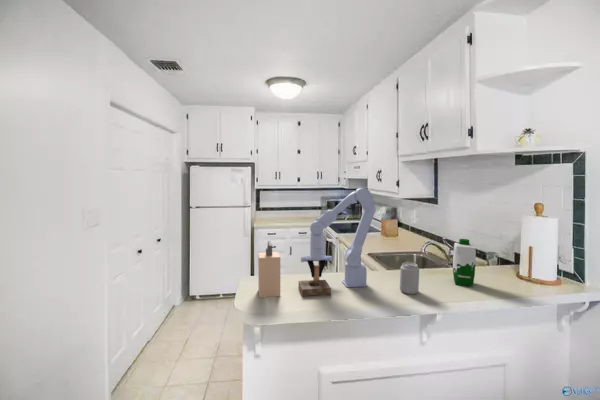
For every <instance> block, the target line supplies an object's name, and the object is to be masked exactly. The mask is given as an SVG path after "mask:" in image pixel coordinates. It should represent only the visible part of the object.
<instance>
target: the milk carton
mask: <svg viewBox="0 0 600 400" xmlns="http://www.w3.org/2000/svg"><path fill="white" fill-rule="evenodd" d="M476 248H477V247H476V246H475V245H474V244H473V243H470V239H468V238H459V241H458V242H454V244H453V255H452V256H453V259H452V260H453V261H452V275H453V282H454V284H455V285H457V286H462V285H465V286H464V287H470V286H473V287H474V281H475V276H476V255H477V252H476V251H477V250H476Z"/></svg>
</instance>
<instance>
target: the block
mask: <svg viewBox="0 0 600 400" xmlns="http://www.w3.org/2000/svg"><path fill="white" fill-rule="evenodd" d="M298 290H299V292H300V295H301V297H303V298H304V297H319V296H331V295H332V287H331V286H330V285H329V283H328V281H327V280H326V279H319V280H311V279H309V280H298Z"/></svg>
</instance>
